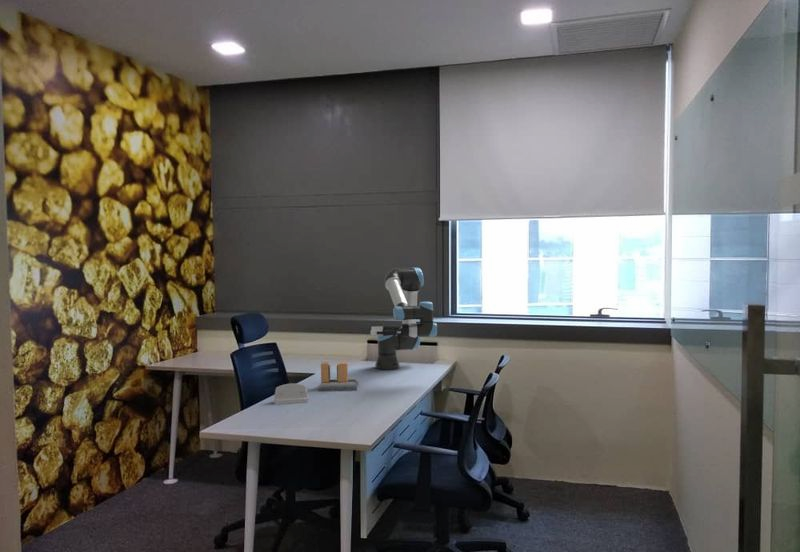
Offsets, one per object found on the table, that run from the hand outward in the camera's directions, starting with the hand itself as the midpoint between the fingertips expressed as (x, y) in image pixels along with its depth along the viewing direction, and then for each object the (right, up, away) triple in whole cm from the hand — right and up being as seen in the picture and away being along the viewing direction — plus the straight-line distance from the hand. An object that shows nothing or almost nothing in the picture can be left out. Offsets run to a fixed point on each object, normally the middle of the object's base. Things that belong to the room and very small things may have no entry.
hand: (371, 330), depth 317 cm
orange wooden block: (-15, -29, -5) cm, 33 cm away
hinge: (-38, -33, -31) cm, 59 cm away
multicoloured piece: (-17, -30, -5) cm, 35 cm away
